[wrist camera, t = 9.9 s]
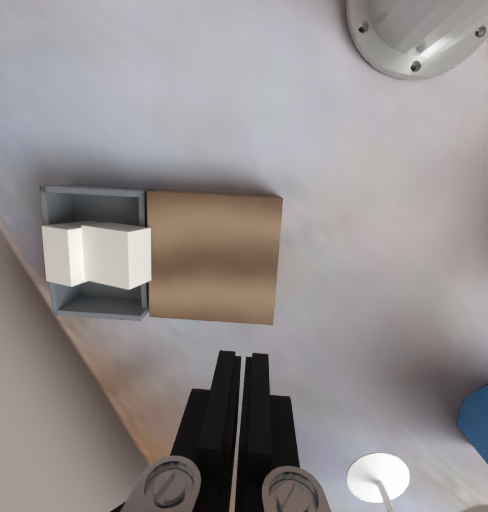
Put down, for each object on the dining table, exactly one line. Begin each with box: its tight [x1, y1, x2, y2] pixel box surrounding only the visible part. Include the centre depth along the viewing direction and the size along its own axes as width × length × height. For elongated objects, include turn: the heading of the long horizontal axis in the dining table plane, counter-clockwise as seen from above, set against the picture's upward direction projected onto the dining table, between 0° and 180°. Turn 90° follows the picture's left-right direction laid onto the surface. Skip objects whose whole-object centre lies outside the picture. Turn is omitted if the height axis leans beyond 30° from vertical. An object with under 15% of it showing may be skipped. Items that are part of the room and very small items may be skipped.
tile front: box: [81, 222, 151, 290], centre depth 28 cm, size 5×5×3 cm
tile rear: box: [42, 220, 102, 287], centre depth 29 cm, size 5×5×3 cm
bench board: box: [147, 190, 283, 325], centre depth 30 cm, size 12×12×4 cm
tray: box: [39, 185, 154, 321], centre depth 30 cm, size 12×8×4 cm
